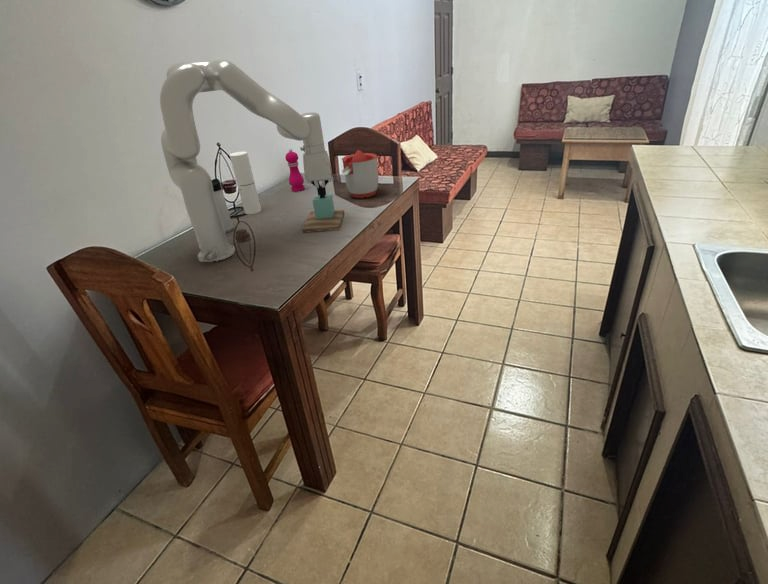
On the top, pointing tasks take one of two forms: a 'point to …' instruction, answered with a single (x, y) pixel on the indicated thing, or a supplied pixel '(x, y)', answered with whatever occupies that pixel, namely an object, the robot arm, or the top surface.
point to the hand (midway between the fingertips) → (322, 196)
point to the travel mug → (222, 205)
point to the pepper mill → (294, 172)
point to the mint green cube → (323, 206)
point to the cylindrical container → (245, 182)
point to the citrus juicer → (361, 174)
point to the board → (323, 222)
